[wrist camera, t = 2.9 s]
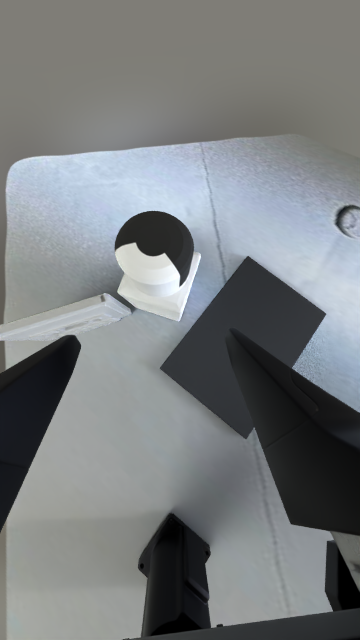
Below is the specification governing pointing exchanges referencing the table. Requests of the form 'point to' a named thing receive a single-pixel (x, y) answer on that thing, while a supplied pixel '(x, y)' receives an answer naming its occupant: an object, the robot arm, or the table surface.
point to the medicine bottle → (156, 263)
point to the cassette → (66, 319)
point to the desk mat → (252, 320)
